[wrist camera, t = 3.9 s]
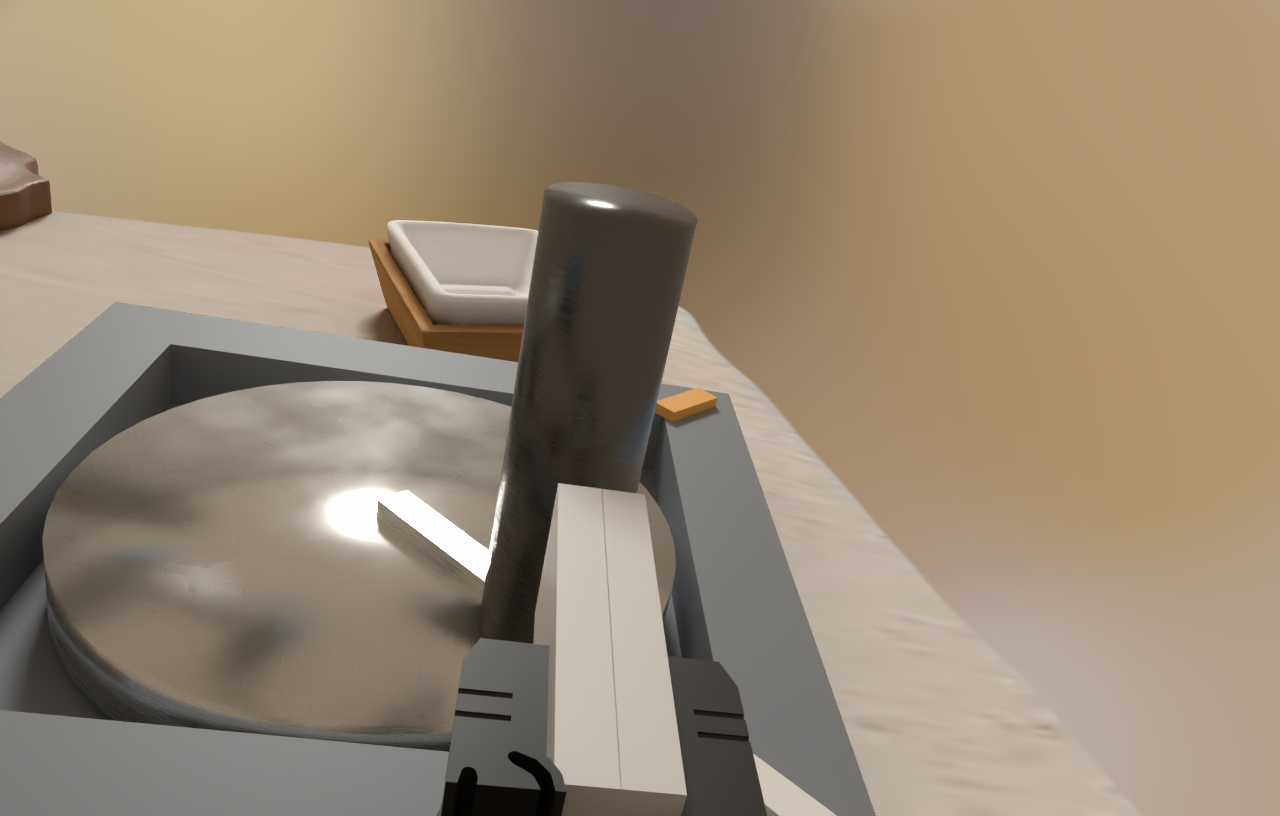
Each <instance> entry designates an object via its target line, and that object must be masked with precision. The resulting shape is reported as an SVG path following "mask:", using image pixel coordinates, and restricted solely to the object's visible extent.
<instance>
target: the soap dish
mask: <svg viewBox="0 0 1280 816" xmlns="http://www.w3.org/2000/svg"><path fill="white" fill-rule="evenodd" d="M387 234H388V239H370V240H369V245H370V249H371V252H372V256H373V259H374V263H375V266H376V270H377V274H378V277H379V281H380V285H381V288H382V292H383V295H384V298H385V302H386V305H387V307H388V311H389V312H391V315H392V317H393V319H394V320H395V322H396V324H397V326H398V328H399V330H400V331H401V333H402V335H403V337H404V339H405V341H406V343H407V345H408V346H413V347H419V348H426V349H433V350H439V351H446V352H453V353H459V354H466V355H473V356H479V357H486V358H493V359H499V360H506V361H513V362H518V361H519V354H520V348H521V341H522V335H523V328H524V322H525V315H526V308H527V302H528V295H529V289H530V282H531V276H532V269H533V263H534V256H535V250H536V243H537V237H538V231H537V230H532V229H524V228H514V227H503V226H490V225H478V224H463V223H450V222H449V223H448V222H432V221H411V220H410V221H409V220H395V221H390V222H389V223H388V225H387Z"/></svg>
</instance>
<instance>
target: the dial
mask: <svg viewBox="0 0 1280 816" xmlns="http://www.w3.org/2000/svg"><path fill="white" fill-rule="evenodd" d="M696 224H697V218H696V216H695V215H694V214H693V213H692V212H691V211H690V210H688V209H686V208H685V207H683V206H681V205H679V204H677V203H674V202H672V201H670V200H667V199H664V198H662V197H658V196H655V195H652V194H649V193H645V192H641V191H637V190H633V189H629V188H623V187H618V186H612V185H606V184H598V183H586V182H566V183H558V184H553V185H550V186H548V187H547V188H546V189H545V191H544V198H543V204H542V211H541V217H540V224H539V230H538V237H537V243H536V250H535V256H534V263H533V269H532V276H531V282H530V289H529V295H528V302H527V308H526V315H525V322H524V328H523V335H522V341H521V348H520V354H519V361H518V367H517V374H516V380H515V387H514V393H513V400H512V406H511V407H510V406H507V405H503V404H500V403H497V402H493V401H490V400H487V399H483V398H479V397H474V396H470V395H466V394H461V393H457V392H452V391H446V390H440V389H435V388H429V387H423V386H414V385H405V384H397V383H384V382H368V381H317V382H297V383H287V384H278V385H269V386H261V387H256V388H250V389H244V390H238V391H232V392H228V393H224V394H220V395H216V396H212V397H207V398H203V399H200V400H197V401H194V402H190V403H187V404H184V405H181V406H178V407H175V408H172V409H169V410H167V411H165V412H162V413H160V414H157V415H155V416H153V417H150V418H148V419H145V420H143V421H141V422H139V423H137V424H136V425H134V426H132V427H130V428H128V429H126V430H124V431H123V432H121V433H119V434H117V435H115V436H114V437H113V438H111V439H110V440H108V441H107V442H106V443H104V444H103V445H101V446H100V447H98V448H97V449H96V450H94V451H93V452H92V453H91V454H90V455H88V456H87V457H86V458H85V459H84V460H83V461H82V462H81V463H80V464H79V465H78V466H77V467H76V468H75V469H74V470H73V471H72V472H71V473H70V475H69V476H68V477H67V479H66V480H65V481H64V483H63V484H62V485H61V487H60V488H59V489H58V491H57V493H56V495H55V497H54V499H53V501H52V504H51V506H50V508H49V510H48V512H47V515H46V521H45V526H44V531H43V537H42V542H43V556H44V570H45V584H46V598H47V610H48V622H49V631H50V634H51V637H52V640H53V643H54V646H55V649H56V652H57V655H58V658H59V659H60V661H61V662H62V664H63V666H64V667H65V669H66V670H67V672H68V674H69V675H70V677H71V678H72V680H73V682H74V683H75V685H76V686H77V687H78V688H79V689H80V690H81V691H82V692H83V693H84V694H85V695H86V696H87V697H88V698H89V700H90V701H91V702H92V703H93V704H94V705H95V706H96V707H97V708H98V709H99V710H100V711H101V712H103V713H104V714H105V715H107V716H108V717H109V718H111V719H112V720H113V721H123V722H134V723H145V724H155V725H166V726H177V727H188V728H198V729H209V730H220V731H231V732H242V733H252V734H263V735H274V736H285V737H295V738H306V739H317V740H328V741H338V742H349V743H360V744H371V745H381V746H392V747H403V748H414V749H425V750H435V751H446V752H449V750H450V743H451V736H452V729H453V722H454V715H455V708H456V701H457V694H458V688H459V681H460V674H461V667H462V660H463V659H464V658H465V657H466V655H467V654H468V653H469V652H470V650H471V649H472V648H473V647H474V645H475V644H476V643H477V642H478V640H479V639H480V638H485V639H494V640H503V641H513V642H522V643H531V644H533V643H534V621H535V609H536V604H537V598H538V593H539V587H540V581H541V576H542V570H543V565H544V559H545V554H546V548H547V543H548V537H549V531H550V526H551V520H552V515H553V509H554V504H555V498H556V493H557V487H558V483H561V484H569V485H576V486H584V487H592V488H599V489H607V490H614V491H622V492H629V493H637V494H645V498H646V506H647V513H648V520H649V527H650V534H651V541H652V548H653V556H654V563H655V570H656V577H657V584H658V591H659V598H660V606H661V613H662V620H663V624H664V620H665V616H666V612H667V608H668V604H669V600H670V596H671V592H672V588H673V582H674V576H675V570H676V560H675V545H674V542H673V539H672V535H671V532H670V528H669V525H668V523H667V521H666V519H665V517H664V515H663V513H662V511H661V509H660V507H659V506H658V504H657V503H656V502H655V500H654V499H653V497H652V496H651V495H650V493H649V492H648V491H647V489H646V488H645V487H644V486H643V485H642V484H641V483H640V482H639V481H640V477H641V472H642V467H643V463H644V458H645V454H646V449H647V445H648V440H649V436H650V431H651V427H652V422H653V418H654V413H655V409H656V404H657V400H658V395H659V391H660V386H661V382H662V377H663V373H664V368H665V364H666V359H667V355H668V350H669V346H670V341H671V336H672V332H673V327H674V323H675V318H676V314H677V309H678V305H679V300H680V296H681V291H682V287H683V282H684V278H685V273H686V269H687V264H688V260H689V255H690V251H691V246H692V241H693V237H694V233H695V228H696Z"/></svg>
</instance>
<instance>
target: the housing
mask: <svg viewBox="0 0 1280 816" xmlns="http://www.w3.org/2000/svg"><path fill="white" fill-rule="evenodd" d="M517 367H518V362H513V361H506V360H499V359H493V358H486V357H479V356H473V355H466V354H459V353H453V352H446V351H439V350H433V349H426V348H419V347H413V346H406V345H399V344H393V343H386V342H379V341H372V340H366V339H359V338H352V337H346V336H339V335H332V334H326V333H319V332H312V331H306V330H299V329H292V328H286V327H279V326H272V325H266V324H259V323H252V322H246V321H239V320H232V319H226V318H219V317H212V316H206V315H199V314H192V313H186V312H179V311H172V310H166V309H159V308H152V307H146V306H139V305H132V304H126V303H119V302H115V303H114V304H113V305H112V306H111V307H109V308H108V309H107V310H106V311H105V312H103V313H102V314H101V315H100V316H99V317H97V318H96V319H95V320H94V321H93V322H91V323H90V324H89V325H88V326H87V327H85V328H84V329H83V330H82V331H81V332H79V333H78V334H77V335H76V336H75V337H73V338H72V339H71V340H70V341H69V342H68V343H66V344H65V345H64V346H63V347H62V348H60V349H59V350H58V351H57V352H56V353H54V354H53V355H52V356H51V357H50V358H48V359H47V360H46V361H45V362H44V363H42V364H41V365H40V366H39V367H38V368H36V369H35V370H34V371H33V372H32V373H30V374H29V375H28V376H27V377H26V378H24V379H23V380H22V381H21V382H20V383H18V384H17V385H16V386H15V387H14V388H12V389H11V390H10V391H9V392H8V393H6V394H5V395H4V396H3V397H2V398H0V816H436V814H437V813H438V811H439V809H440V806H441V802H442V799H443V792H444V785H445V778H446V771H447V764H448V757H449V752H446V751H435V750H425V749H414V748H403V747H392V746H381V745H371V744H360V743H349V742H338V741H328V740H317V739H306V738H295V737H285V736H274V735H263V734H252V733H242V732H231V731H220V730H209V729H198V728H188V727H177V726H166V725H155V724H145V723H134V722H123V721H113V720H112V719H111V718H109V717H108V716H107V715H105V714H104V713H103V712H101V711H100V710H99V709H98V708H97V707H96V706H95V705H94V704H93V703H92V702H91V701H90V700H89V698H88V697H87V696H86V695H85V694H84V693H83V692H82V691H81V690H80V689H79V688H78V687H77V686H76V685H75V683H74V682H73V680H72V678H71V677H70V675H69V674H68V672H67V670H66V669H65V667H64V666H63V664H62V662H61V661H60V659H59V658H58V655H57V652H56V649H55V646H54V643H53V640H52V637H51V634H50V631H49V622H48V610H47V598H46V584H45V570H44V556H43V542H42V537H43V531H44V526H45V521H46V515H47V512H48V510H49V508H50V506H51V504H52V501H53V499H54V497H55V495H56V493H57V491H58V489H59V488H60V487H61V485H62V484H63V483H64V481H65V480H66V479H67V477H68V476H69V475H70V473H71V472H72V471H73V470H74V469H75V468H76V467H77V466H78V465H79V464H80V463H81V462H82V461H83V460H84V459H85V458H86V457H87V456H88V455H90V454H91V453H92V452H93V451H94V450H96V449H97V448H98V447H100V446H101V445H103V444H104V443H106V442H107V441H108V440H110V439H111V438H113V437H114V436H115V435H117V434H119V433H121V432H123V431H124V430H126V429H128V428H130V427H132V426H134V425H136V424H137V423H139V422H141V421H143V420H145V419H148V418H150V417H153V416H155V415H157V414H160V413H162V412H165V411H167V410H169V409H172V408H175V407H178V406H181V405H184V404H187V403H190V402H194V401H197V400H200V399H203V398H207V397H212V396H216V395H220V394H224V393H228V392H232V391H238V390H244V389H250V388H256V387H261V386H269V385H278V384H287V383H297V382H317V381H368V382H384V383H397V384H405V385H414V386H423V387H429V388H435V389H440V390H446V391H452V392H457V393H461V394H466V395H470V396H474V397H479V398H483V399H487V400H490V401H493V402H497V403H500V404H503V405H507V406H510V407H511V406H512V400H513V393H514V387H515V380H516V374H517ZM639 482H640V483H641V484H642V485H643V486H644V487H645V488H646V489H647V491H648V492H649V493H650V495H651V496H652V497H653V499H654V500H655V502H656V503H657V504H658V506H659V507H660V509H661V511H662V513H663V515H664V517H665V519H666V521H667V523H668V525H669V528H670V532H671V535H672V539H673V542H674V545H675V560H676V570H675V576H674V582H673V588H672V592H671V596H670V600H669V604H668V608H667V612H666V616H665V620H664V624H663V627H664V634H665V641H666V649H667V656H672V657H681V658H690V659H699V660H708V661H717V662H720V664H721V665H722V666H723V668H724V669H725V670H726V672H727V673H728V674H729V676H730V677H731V678H732V680H733V681H734V682H735V684H736V685H737V686H738V689H739V694H740V698H741V703H742V707H743V711H744V720H746V725H747V729H748V733H749V742H751V747H752V751H753V755H754V760H755V764H756V769H757V773H758V777H759V782H760V786H761V791H762V795H763V799H764V804H765V808H766V813H767V816H876V815H875V812H874V809H873V807H872V804H871V801H870V798H869V795H868V792H867V789H866V786H865V784H864V781H863V778H862V775H861V772H860V769H859V766H858V764H857V761H856V758H855V755H854V752H853V749H852V746H851V743H850V741H849V738H848V735H847V732H846V729H845V726H844V723H843V721H842V718H841V715H840V712H839V709H838V706H837V703H836V700H835V698H834V695H833V692H832V689H831V686H830V683H829V680H828V678H827V675H826V672H825V669H824V666H823V663H822V660H821V657H820V655H819V652H818V649H817V646H816V643H815V640H814V637H813V634H812V632H811V629H810V626H809V623H808V620H807V617H806V614H805V612H804V609H803V606H802V603H801V600H800V597H799V594H798V591H797V589H796V586H795V583H794V580H793V577H792V574H791V571H790V569H789V566H788V563H787V560H786V557H785V554H784V551H783V548H782V546H781V543H780V540H779V537H778V534H777V531H776V528H775V526H774V523H773V520H772V517H771V514H770V511H769V508H768V505H767V503H766V500H765V497H764V494H763V491H762V488H761V485H760V483H759V480H758V477H757V474H756V471H755V468H754V465H753V462H752V460H751V457H750V454H749V451H748V448H747V445H746V442H745V440H744V437H743V434H742V431H741V428H740V425H739V422H738V419H737V417H736V414H735V411H734V408H733V405H732V402H731V399H730V396H729V394H726V393H720V392H713V391H706V390H702V389H700V388H696V389H693V388H686V387H680V386H673V385H666V384H661V386H660V391H659V395H658V400H657V404H656V409H655V413H654V418H653V422H652V427H651V431H650V436H649V440H648V445H647V449H646V454H645V458H644V463H643V467H642V472H641V477H640V481H639Z"/></svg>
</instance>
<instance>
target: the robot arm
mask: <svg viewBox="0 0 1280 816" xmlns="http://www.w3.org/2000/svg"><path fill="white" fill-rule="evenodd" d="M436 816H767V813H766V808H765V804H764V799H763V795H762V791H761V786H760V782H759V777H758V773H757V769H756V764H755V760H754V755H753V751H752V747H751V742H749V733H748V729H747V725H746V720H744V711H743V707H742V703H741V698H740V694H739V689H738V686H737V685H736V684H735V682H734V681H733V680H732V678H731V677H730V676H729V674H728V673H727V672H726V670H725V669H724V668H723V666H722V665H721V664H720V662H717V661H708V660H699V659H690V658H681V657H672V656H667V649H666V641H665V634H664V627H663V620H662V613H661V606H660V598H659V591H658V584H657V577H656V570H655V563H654V556H653V548H652V541H651V534H650V527H649V520H648V513H647V506H646V498H645V494H637V493H629V492H622V491H614V490H607V489H599V488H592V487H584V486H576V485H569V484H561V483H558V487H557V493H556V498H555V504H554V509H553V515H552V520H551V526H550V531H549V537H548V543H547V548H546V554H545V559H544V565H543V570H542V576H541V581H540V587H539V593H538V598H537V604H536V609H535V621H534V643H533V644H531V643H522V642H513V641H503V640H494V639H485V638H480V639H479V640H478V642H477V643H476V644H475V645H474V647H473V648H472V649H471V650H470V652H469V653H468V654H467V655H466V657H465V658H464V659H463V660H462V667H461V674H460V681H459V688H458V694H457V701H456V708H455V715H454V722H453V729H452V736H451V743H450V750H449V757H448V764H447V771H446V778H445V785H444V792H443V799H442V802H441V806H440V809H439V811H438V813H437V814H436Z"/></svg>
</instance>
